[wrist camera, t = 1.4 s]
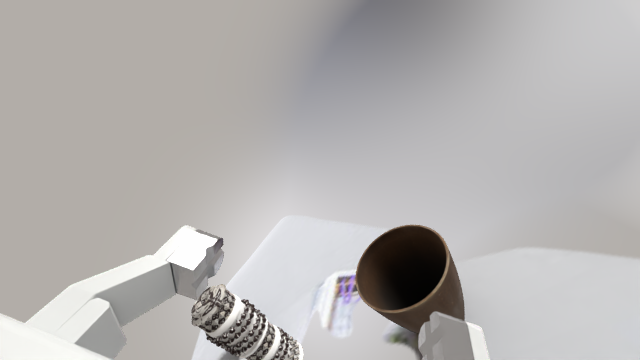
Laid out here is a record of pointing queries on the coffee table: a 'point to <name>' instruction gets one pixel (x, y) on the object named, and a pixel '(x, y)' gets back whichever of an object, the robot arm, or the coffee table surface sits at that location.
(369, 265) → the plant pot
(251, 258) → the coffee table surface
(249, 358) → the black white cylinder
